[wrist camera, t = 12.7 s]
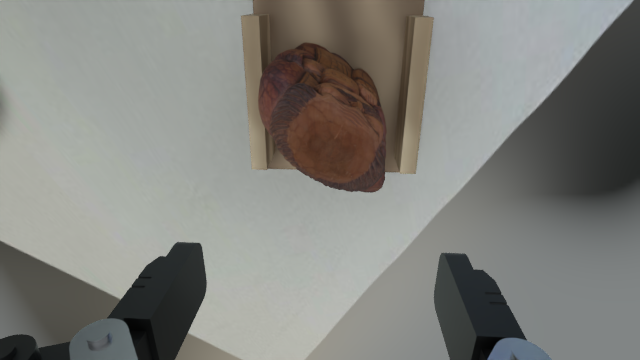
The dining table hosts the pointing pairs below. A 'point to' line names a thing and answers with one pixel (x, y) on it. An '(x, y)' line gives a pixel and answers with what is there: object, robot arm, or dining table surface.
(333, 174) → the wooden figurine
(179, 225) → the dining table surface
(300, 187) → the dining table surface
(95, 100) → the dining table surface
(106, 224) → the dining table surface
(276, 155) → the light wood shelf
